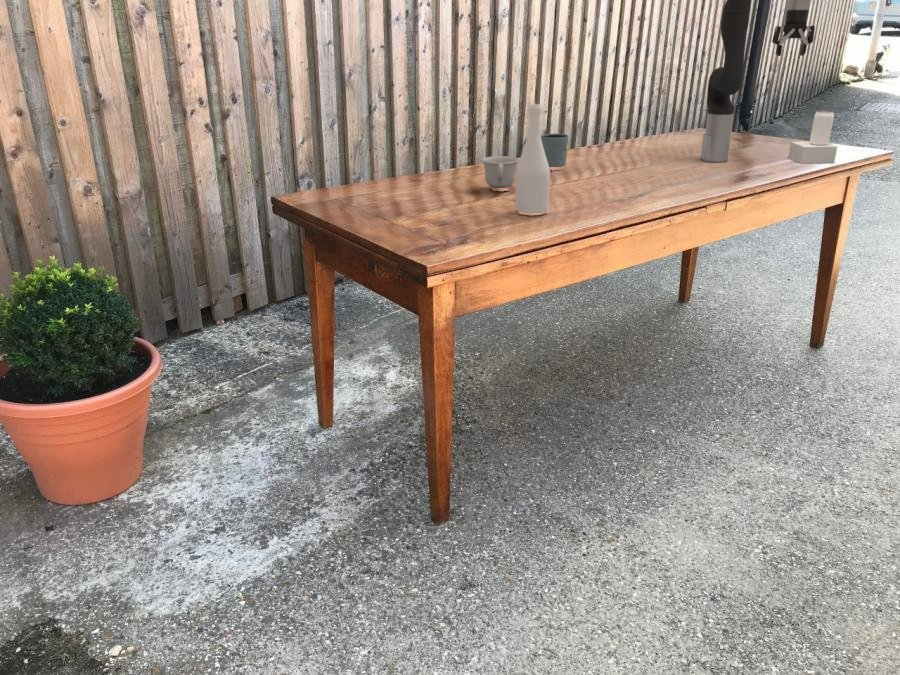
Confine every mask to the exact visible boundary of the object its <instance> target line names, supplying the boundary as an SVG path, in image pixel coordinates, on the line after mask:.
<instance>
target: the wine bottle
mask: <svg viewBox="0 0 900 675" xmlns="http://www.w3.org/2000/svg"><path fill="white" fill-rule="evenodd" d="M542 109H543V108H542V105H541V104H540V103H530V104H529V105H528V107H527V113H528V127H527V128H528V129H527V138H526V141H525V144H524V147H523V150H522V153H521V154H520V158H519V161H518V163H517V166H516V173H515V211H516V210H517V211H519V212H524V213H541V212H546V211H548V212H549V209H550V208H549V207H550V206H549V205H550V188H551V185H550V181H551V171H550V169H549V165H548V162H547V158H546V155H545V151H544V148H543V144H542V141H541V135H542V134H541V119H542V118H541V114H542Z"/></svg>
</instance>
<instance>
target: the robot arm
mask: <svg viewBox="0 0 900 675" xmlns="http://www.w3.org/2000/svg"><path fill="white" fill-rule="evenodd" d="M751 7H752V0H725V3H724V5H723V6H722V12H721V20H720V36H721V39H722V43H723V46H724V47H723V48H724V61H723V66H722V67H717V68H715V69H714V70H713V71H712V72H711V74H710V75H709V79H708V84H707V93H706V95H707V96H706V105H707V116H706V123H705V124H706V125H705V130H704V133H703V134H702V142H701V150H700V158H701V160H702V161H704V162H711V163H712V162H713V163H721V162H727V161H728V157H729V152H730V144H731V137H732V130H733V122H734V115H735V108H736V107H735V105H734V104H733V103H732V101H731V96H733V95H735V94H736V93H738V91H740V89H741V87H742V85H743V81H744V63H745V49H746V42H747V35H748V34H747V33H748V29H749V28H748V27H749V25H750V24H749V21H750V16H751V9H752V8H751ZM810 7H811V0H788V1H787V6H786V11H785V20H784V24H783V26H780V25H779V26H778V25H777V26H775V27H774V30H773V32H774V33H773V36H772V41H771V43H772V44H773V45H774V44H775V45H776V49H775V54H776V56H777V57H781V55H782V51H783V44H784V43H785V42H786V41H787V40H788V39H798V40H799V41H800V42H801V45H800V50H799V56H800V57H801V56H803V57H804V55H806V52H807V47H808V45H809V44H812V43H814V36H815V28H816V26H815V25H809V26H808V25H807V22H808V17H809V13H810V12H809V11H810ZM782 32H783V34H782V36H781V37H780V34H781V33H782ZM805 32H807V37H806V36H805Z"/></svg>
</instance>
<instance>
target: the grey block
mask: <svg viewBox="0 0 900 675" xmlns="http://www.w3.org/2000/svg"><path fill="white" fill-rule="evenodd" d="M788 150H789V151H788V155H787V158H788V157H789V158H788V159H790V158H791V160H792V159H793V160H792V161H794V160H795V162H797V163H799V164H801V163H804V164H803V165H805V164H834V163H835V160H836V155H837V151H838V145H835V144H832V143H829V144H828V145H812V144H810V140H808V141H790V145H789V149H788Z"/></svg>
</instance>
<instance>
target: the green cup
mask: <svg viewBox="0 0 900 675" xmlns="http://www.w3.org/2000/svg"><path fill="white" fill-rule="evenodd" d="M540 135H541V141H542V144H543V148H544V151H545V155H546V158H547V162H548V165H549V167H562V166H565V165H566V164H567V162H566V161H567V155H568V154H567V153H568V144H569V143H568V142H569V135H568V134H567V133H566V134H565V133H545V134H540ZM565 167H566V166H565Z"/></svg>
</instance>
